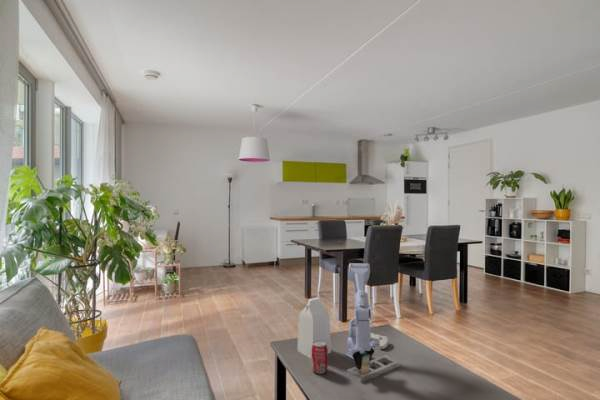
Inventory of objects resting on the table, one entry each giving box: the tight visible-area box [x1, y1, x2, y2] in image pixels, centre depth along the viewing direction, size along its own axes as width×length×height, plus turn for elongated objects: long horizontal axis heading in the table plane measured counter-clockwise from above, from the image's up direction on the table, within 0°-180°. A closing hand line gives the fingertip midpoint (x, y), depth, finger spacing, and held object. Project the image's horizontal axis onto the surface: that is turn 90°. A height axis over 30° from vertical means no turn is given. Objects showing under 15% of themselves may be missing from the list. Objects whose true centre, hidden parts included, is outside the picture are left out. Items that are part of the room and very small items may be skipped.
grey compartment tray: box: [346, 354, 400, 384], centre depth 149 cm, size 8×24×2 cm, turn 124°
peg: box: [356, 351, 370, 375], centre depth 145 cm, size 4×4×8 cm
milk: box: [296, 297, 332, 360], centre depth 167 cm, size 12×12×26 cm
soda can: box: [310, 341, 329, 375], centre depth 149 cm, size 7×7×12 cm
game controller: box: [369, 332, 390, 350], centre depth 176 cm, size 14×4×10 cm
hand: (362, 367), depth 145 cm, fingers closed on peg, 4 cm apart
